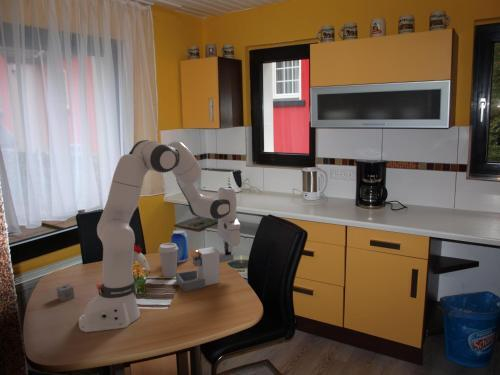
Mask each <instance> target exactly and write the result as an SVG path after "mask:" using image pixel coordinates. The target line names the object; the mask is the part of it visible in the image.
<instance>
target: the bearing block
mask: <svg viewBox="0 0 500 375" xmlns="http://www.w3.org/2000/svg"><path fill="white" fill-rule="evenodd" d="M196 250H197V251H199V253H200V256H199V257H200V258H201V259H202V266H197V277H198V279H199V280H200V279H205V286H210V285H216V284H220V283H221V270H220V269H221V268H220V261H219V253H220V251H219V250H218V249H217V248H216V247H214V246H210V247H209V246H208V247H204V248H197V249H196Z"/></svg>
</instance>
